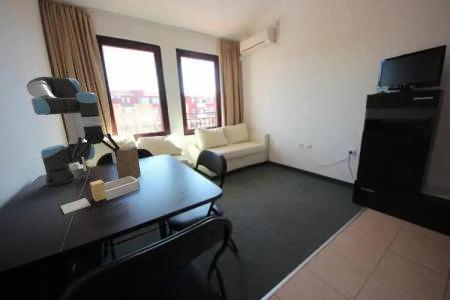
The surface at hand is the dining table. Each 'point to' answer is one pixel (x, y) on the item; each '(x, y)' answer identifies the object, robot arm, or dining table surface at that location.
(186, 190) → the dining table surface
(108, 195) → the white u-shaped frame
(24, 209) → the dining table surface
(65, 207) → the tile
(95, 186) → the block
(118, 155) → the wooden block
